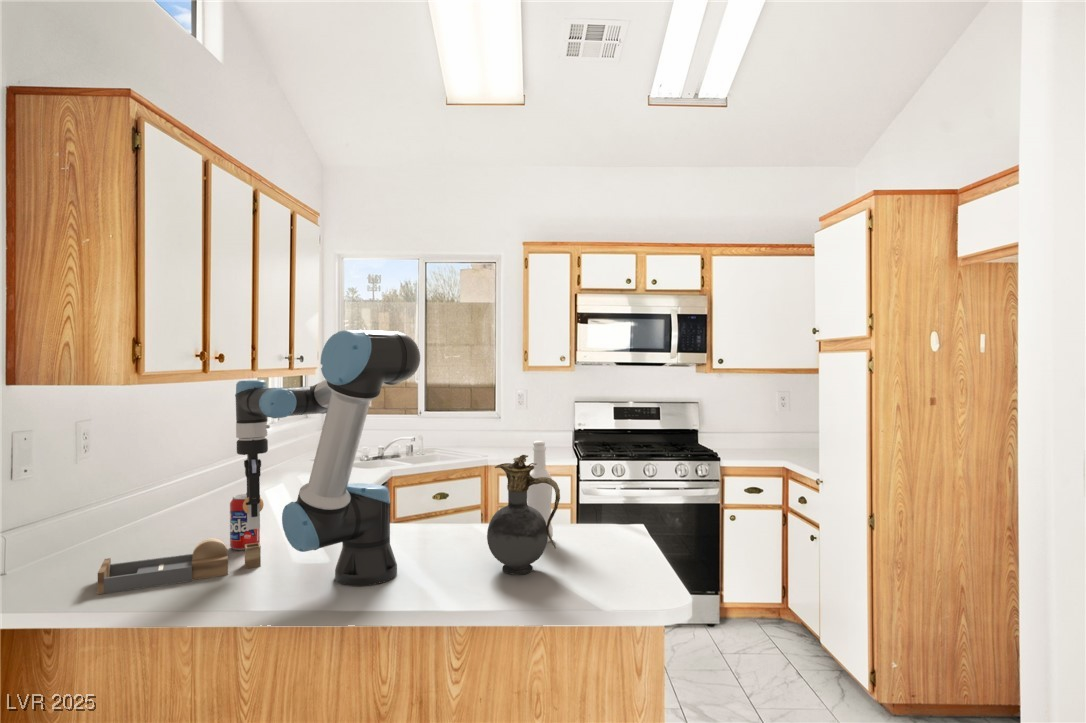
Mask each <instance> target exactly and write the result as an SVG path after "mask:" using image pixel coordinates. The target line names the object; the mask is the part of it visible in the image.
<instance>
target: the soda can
mask: <svg viewBox="0 0 1086 723" xmlns="http://www.w3.org/2000/svg"><path fill="white" fill-rule="evenodd" d="M231 498H232V499H231V501H230V502H229V547H230V548H231V549H233V550H235V551H245V544H253V543H260V544H261V541H260V540H261V527H260V528H259V529H251V530H249V525H247V513H246V512H245V511H244V509H243V503H244V501H245V499H246V498H247V495H246V493H241V494H237V495H234V496H233V495H232V497H231Z"/></svg>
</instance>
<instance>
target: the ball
mask: <svg viewBox="0 0 1086 723" xmlns="http://www.w3.org/2000/svg"><path fill="white" fill-rule="evenodd" d="M247 502H249V497H248V498H246V499H245V501H244V503H243V509H244V511H245V512H246V513H247V514H248V505H246V503H247ZM263 509H264V500H263V499H262V497H260V512H262V510H263Z"/></svg>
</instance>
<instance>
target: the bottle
mask: <svg viewBox="0 0 1086 723" xmlns="http://www.w3.org/2000/svg"><path fill="white" fill-rule="evenodd" d="M532 444H533V448H532V450H533V462H532V463H534V464H536V465H534V464H532V465H533V466H534V469H533V470H531V471H530V475H531V476H532V477H533V478H539V477H548V478H551V479H552V480H553V478H552V476H551V474H550V472H549V471H548V470H547V467H546V450H547V449H546V445H545V444H546V442H545V441H543V440H534V442H533V443H532ZM552 498H553V487H552V486H551V485H549V484H547V483H539V484H533V485H531V486H529V488H528V490H527V505H528V506H531V507H533V508H534V509H536V510H537V511H538V512H540V514H541V515H542V516H543V518H544V520H545V522H546V525H547V522H548V519H549V517H550V515H551V512H552ZM553 531H554V530H553V526H552V521H551V522H550V525H549V532H550V535H551V538H552V539H553V534H554V533H553ZM549 542H551V540H550V539H549V537H548V539H547V544H549Z"/></svg>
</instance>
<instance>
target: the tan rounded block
mask: <svg viewBox="0 0 1086 723" xmlns="http://www.w3.org/2000/svg"><path fill="white" fill-rule="evenodd" d="M192 554H193V556H192V581H193V580H200V579H206V578H207V579H208V578H216V577H221V576H228V575H229V558H228V548H227V545H226V544H225V543H224V542H223V541H222V540H221V539H218V538H212V537H211V538H207V539H204V540H202V541H200V542H198V543H197V544H196V546H195V547H194V549H193V552H192Z"/></svg>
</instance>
